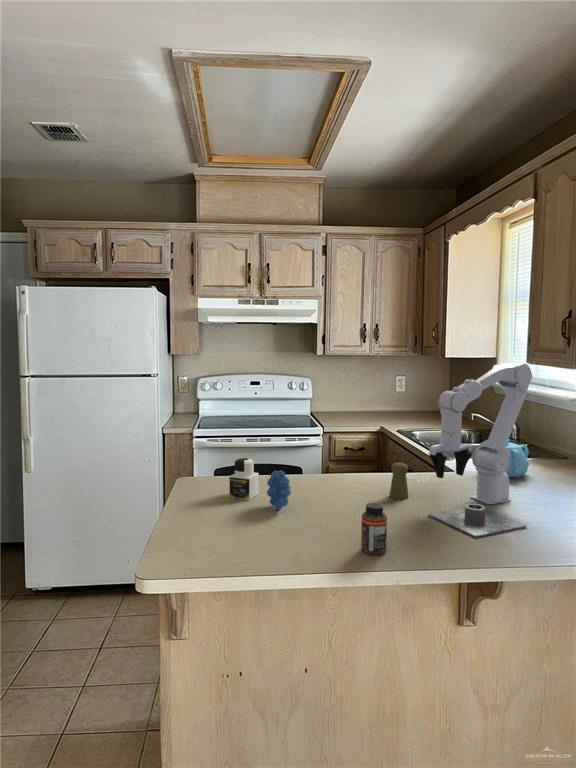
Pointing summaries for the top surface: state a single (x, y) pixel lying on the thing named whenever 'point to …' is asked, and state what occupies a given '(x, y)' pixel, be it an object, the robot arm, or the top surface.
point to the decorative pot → (517, 460)
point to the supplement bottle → (374, 530)
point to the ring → (475, 513)
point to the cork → (399, 482)
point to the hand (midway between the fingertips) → (449, 476)
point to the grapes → (278, 489)
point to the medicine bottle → (244, 480)
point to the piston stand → (488, 527)
